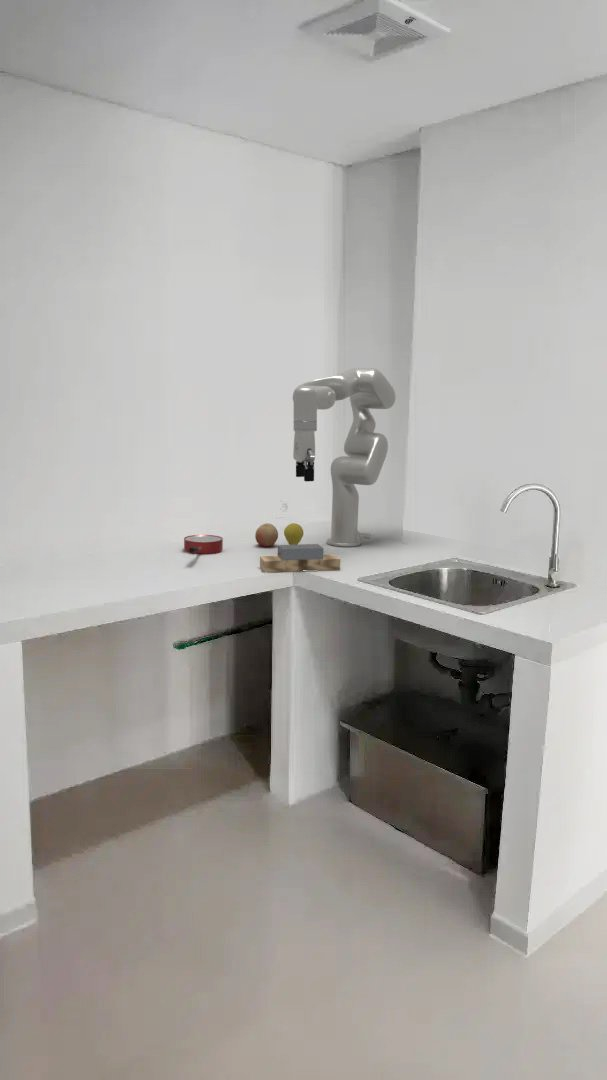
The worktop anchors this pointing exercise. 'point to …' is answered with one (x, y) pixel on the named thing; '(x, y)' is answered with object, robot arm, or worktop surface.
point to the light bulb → (293, 533)
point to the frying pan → (203, 544)
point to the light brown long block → (299, 564)
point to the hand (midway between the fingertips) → (304, 478)
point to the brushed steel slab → (300, 552)
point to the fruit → (266, 535)
